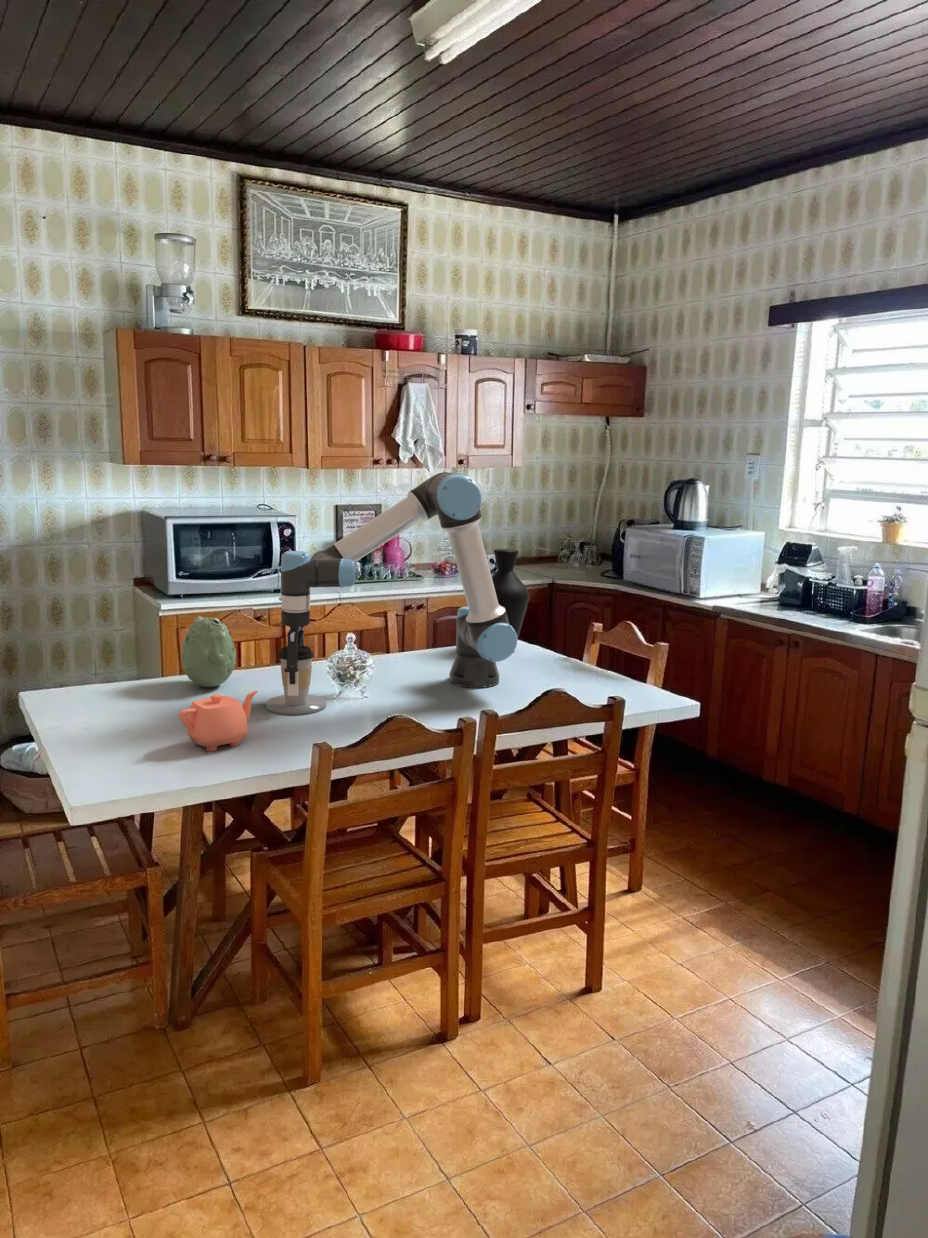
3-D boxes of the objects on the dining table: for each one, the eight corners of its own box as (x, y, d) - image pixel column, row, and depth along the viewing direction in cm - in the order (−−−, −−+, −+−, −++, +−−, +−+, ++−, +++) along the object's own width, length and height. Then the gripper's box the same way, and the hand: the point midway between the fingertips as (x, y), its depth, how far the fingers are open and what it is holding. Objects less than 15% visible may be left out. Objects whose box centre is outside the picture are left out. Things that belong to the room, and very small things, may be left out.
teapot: (192, 759, 207) (190, 708, 205) (169, 744, 216) (167, 695, 213) (270, 741, 220) (269, 693, 218) (246, 728, 229) (245, 682, 226)
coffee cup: (317, 698, 252) (317, 645, 249) (308, 708, 243) (308, 653, 240) (284, 696, 253) (283, 643, 250) (274, 706, 244) (273, 651, 241)
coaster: (328, 698, 256) (328, 694, 256) (322, 715, 241) (322, 712, 241) (270, 697, 256) (270, 693, 255) (261, 714, 240) (261, 711, 240)
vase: (505, 659, 305) (509, 555, 298) (466, 650, 316) (470, 549, 309) (536, 651, 318) (541, 551, 311) (498, 643, 329) (502, 546, 322)
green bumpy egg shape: (192, 698, 252) (190, 627, 248) (173, 681, 268) (170, 614, 264) (247, 690, 261) (246, 622, 257) (225, 674, 276) (224, 609, 272)
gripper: (287, 601, 254) (288, 676, 259) (274, 619, 231) (275, 701, 235) (314, 601, 255) (314, 676, 259) (304, 619, 231) (304, 702, 236)
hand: (296, 688), depth 247 cm, fingers open, 12 cm apart
